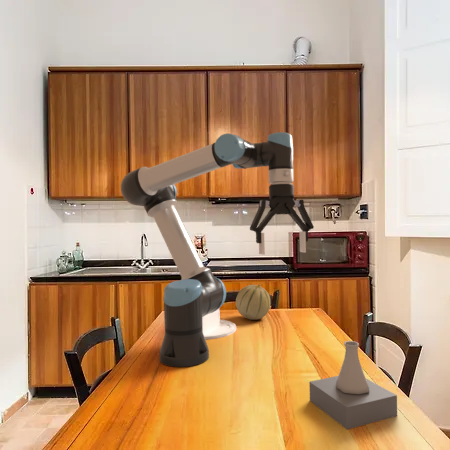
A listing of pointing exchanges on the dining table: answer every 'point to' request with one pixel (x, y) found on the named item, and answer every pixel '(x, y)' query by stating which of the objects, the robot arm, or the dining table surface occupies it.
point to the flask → (352, 372)
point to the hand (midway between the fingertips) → (282, 253)
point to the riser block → (353, 403)
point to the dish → (216, 326)
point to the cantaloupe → (253, 302)
